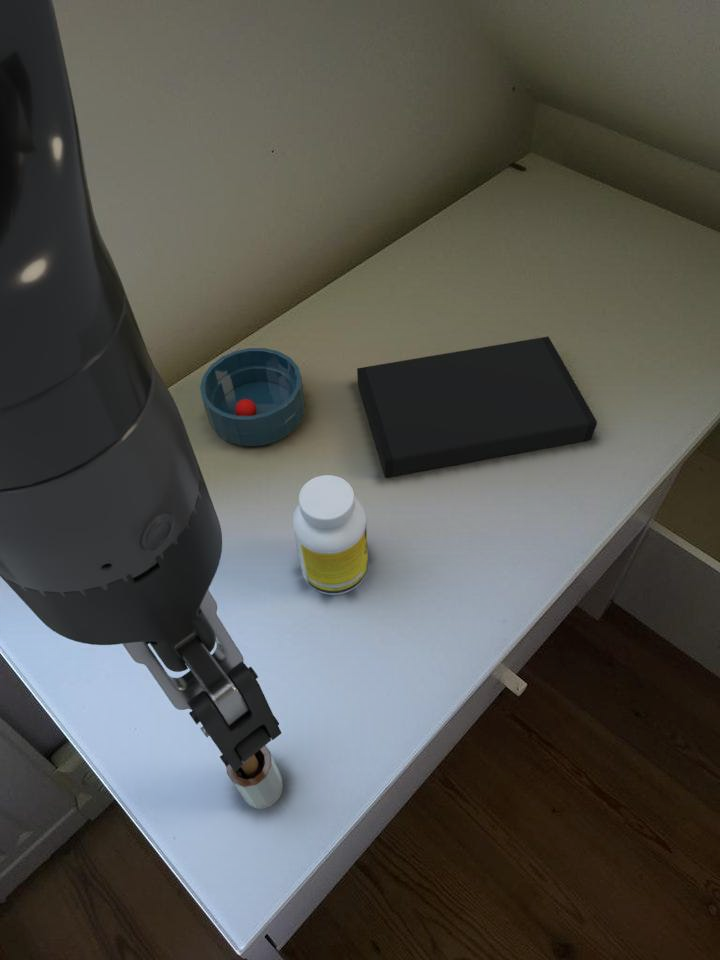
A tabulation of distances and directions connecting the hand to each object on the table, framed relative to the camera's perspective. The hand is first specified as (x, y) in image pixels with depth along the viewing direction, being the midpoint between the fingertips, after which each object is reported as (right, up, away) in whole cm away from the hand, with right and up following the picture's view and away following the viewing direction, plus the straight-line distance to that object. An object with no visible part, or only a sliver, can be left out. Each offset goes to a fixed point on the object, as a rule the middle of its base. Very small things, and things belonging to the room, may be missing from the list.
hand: (196, 672), depth 36 cm
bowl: (-3, +18, +43) cm, 47 cm away
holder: (+1, -14, +18) cm, 23 cm away
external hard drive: (+21, +18, +42) cm, 50 cm away
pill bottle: (+6, +2, +31) cm, 31 cm away
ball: (-4, +18, +41) cm, 45 cm away
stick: (+1, -14, +18) cm, 23 cm away
